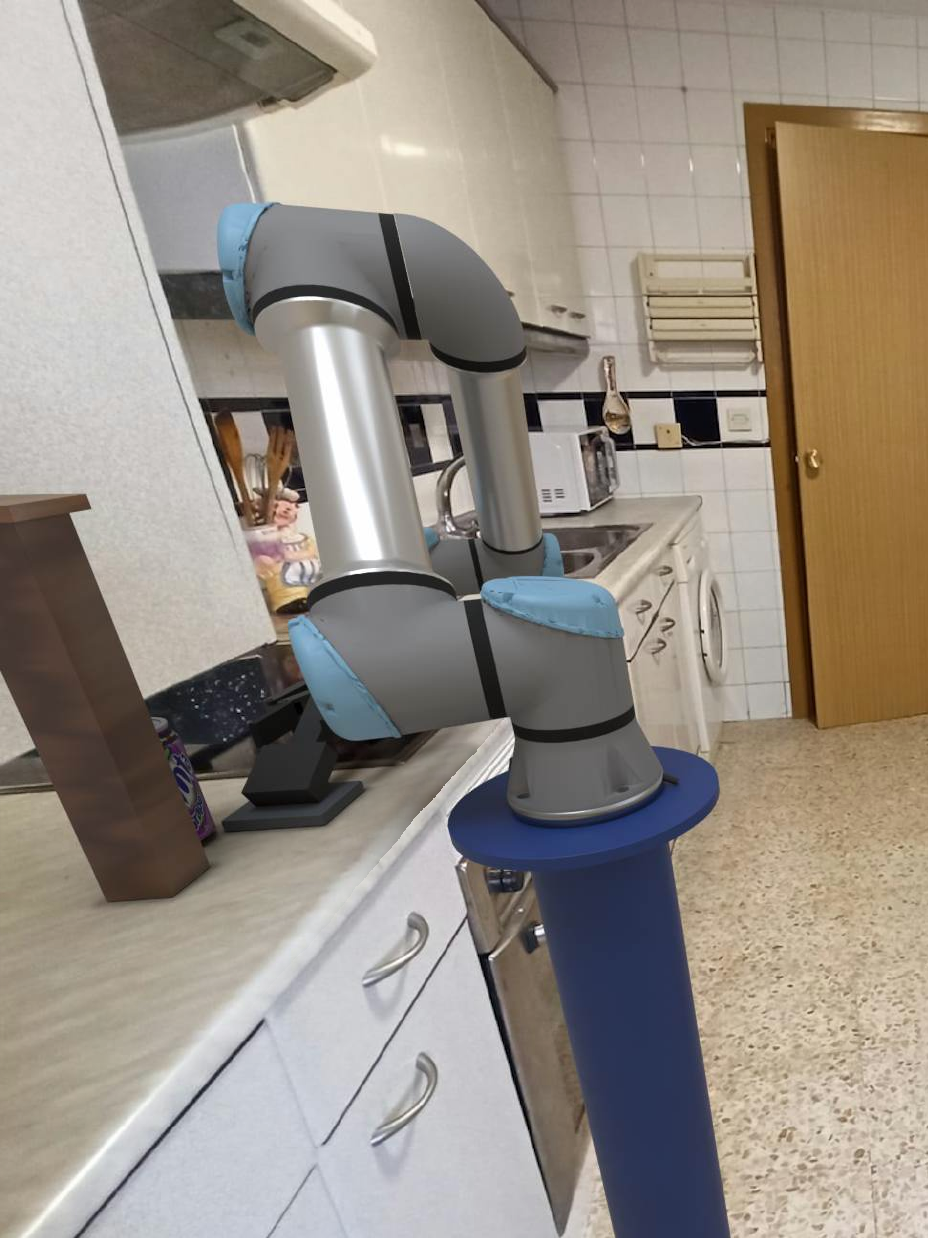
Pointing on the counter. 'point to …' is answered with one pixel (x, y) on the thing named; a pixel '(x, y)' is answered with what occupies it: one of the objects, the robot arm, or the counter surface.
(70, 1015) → the counter surface
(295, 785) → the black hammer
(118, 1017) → the counter surface
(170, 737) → the beverage can
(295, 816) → the base pad
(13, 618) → the stand
